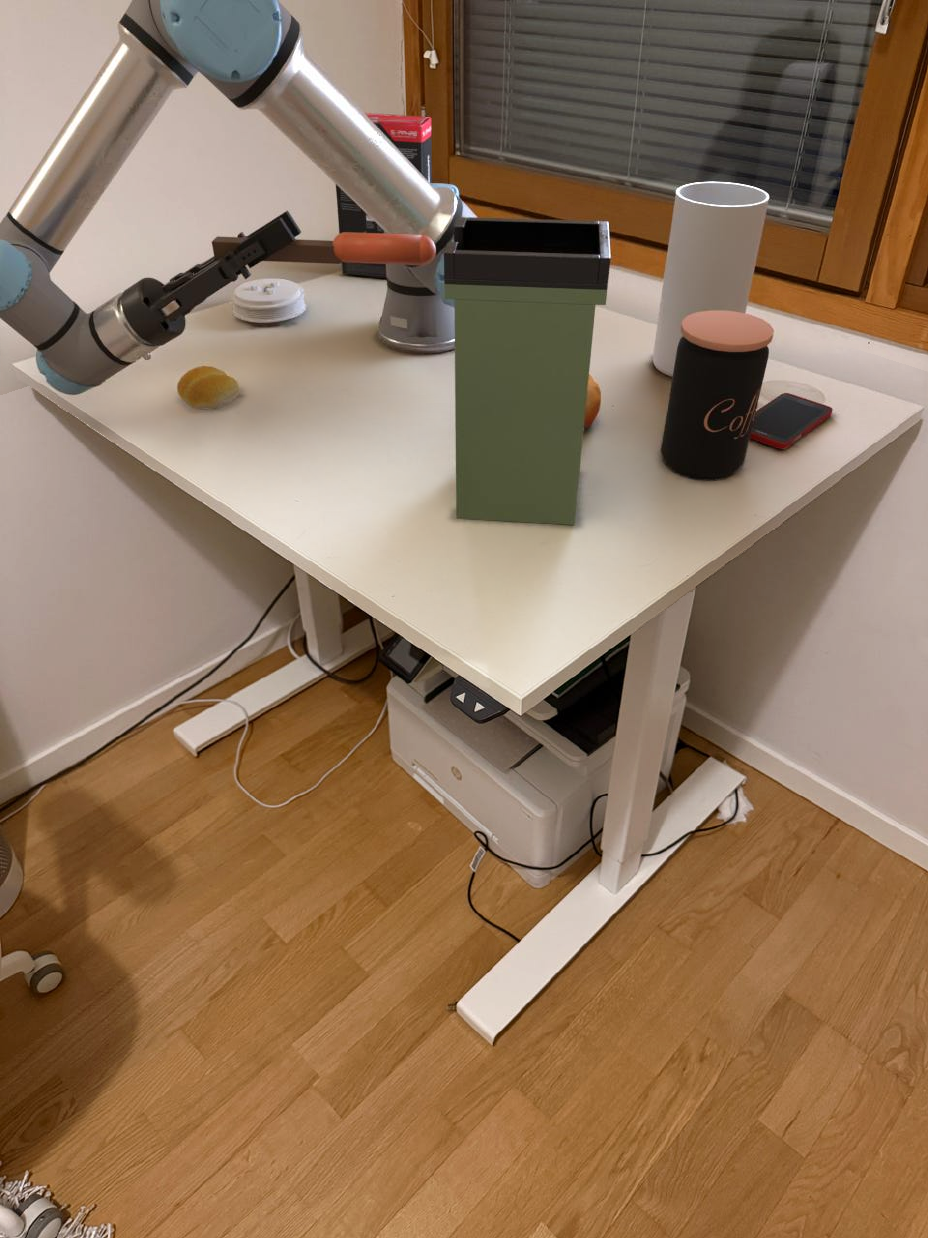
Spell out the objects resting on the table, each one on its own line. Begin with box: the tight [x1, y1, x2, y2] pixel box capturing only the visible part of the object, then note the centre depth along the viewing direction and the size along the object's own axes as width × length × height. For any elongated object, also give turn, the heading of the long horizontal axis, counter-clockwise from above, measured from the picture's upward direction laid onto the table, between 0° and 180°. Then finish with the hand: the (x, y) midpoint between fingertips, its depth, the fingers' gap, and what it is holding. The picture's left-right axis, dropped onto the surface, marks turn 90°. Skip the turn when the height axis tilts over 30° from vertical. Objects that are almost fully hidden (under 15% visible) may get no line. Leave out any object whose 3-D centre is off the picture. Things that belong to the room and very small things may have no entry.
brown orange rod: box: [211, 232, 436, 265], centre depth 101 cm, size 26×3×3 cm, turn 84°
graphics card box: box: [335, 112, 433, 279], centre depth 161 cm, size 17×7×27 cm, turn 77°
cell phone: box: [750, 392, 833, 450], centre depth 122 cm, size 8×15×1 cm, turn 137°
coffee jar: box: [660, 310, 775, 481], centre depth 109 cm, size 11×11×18 cm
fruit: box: [584, 373, 602, 429], centre depth 121 cm, size 8×8×8 cm
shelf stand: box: [444, 284, 608, 526], centre depth 99 cm, size 16×12×28 cm
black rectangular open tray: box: [444, 217, 612, 291], centre depth 90 cm, size 16×12×3 cm
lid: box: [229, 278, 307, 324], centre depth 152 cm, size 13×13×5 cm
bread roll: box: [176, 365, 240, 410], centre depth 128 cm, size 8×9×4 cm
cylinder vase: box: [652, 181, 770, 378], centre depth 129 cm, size 12×12×25 cm
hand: (290, 225), depth 100 cm, fingers closed on brown orange rod, 2 cm apart
